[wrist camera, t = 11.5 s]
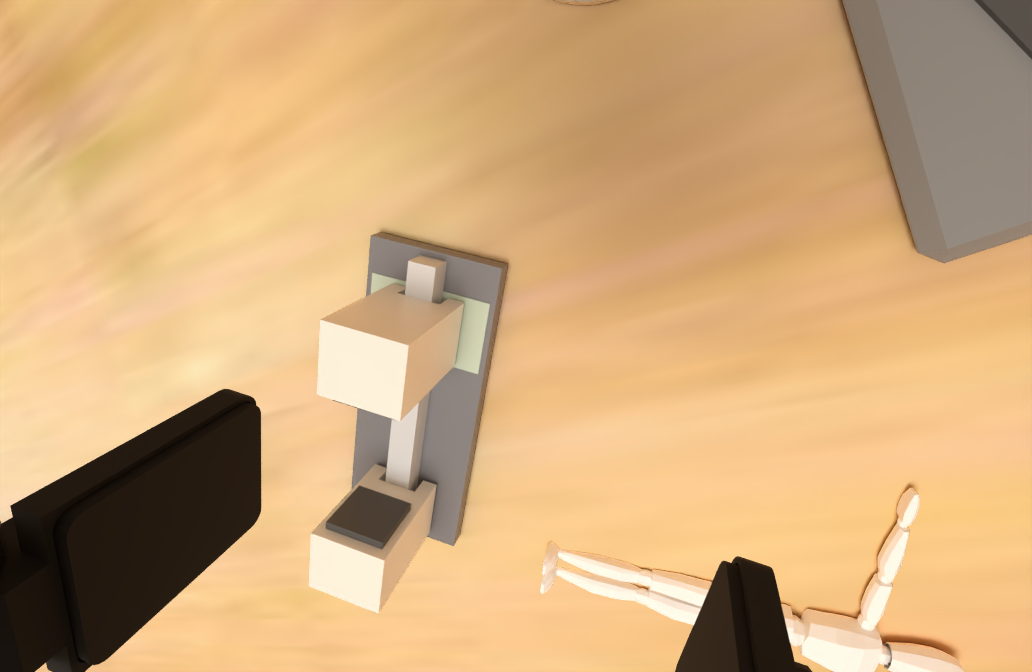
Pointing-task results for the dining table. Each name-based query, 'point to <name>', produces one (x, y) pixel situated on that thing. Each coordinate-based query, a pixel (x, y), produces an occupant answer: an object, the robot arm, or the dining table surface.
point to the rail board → (445, 393)
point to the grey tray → (953, 115)
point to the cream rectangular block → (387, 351)
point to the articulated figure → (818, 634)
